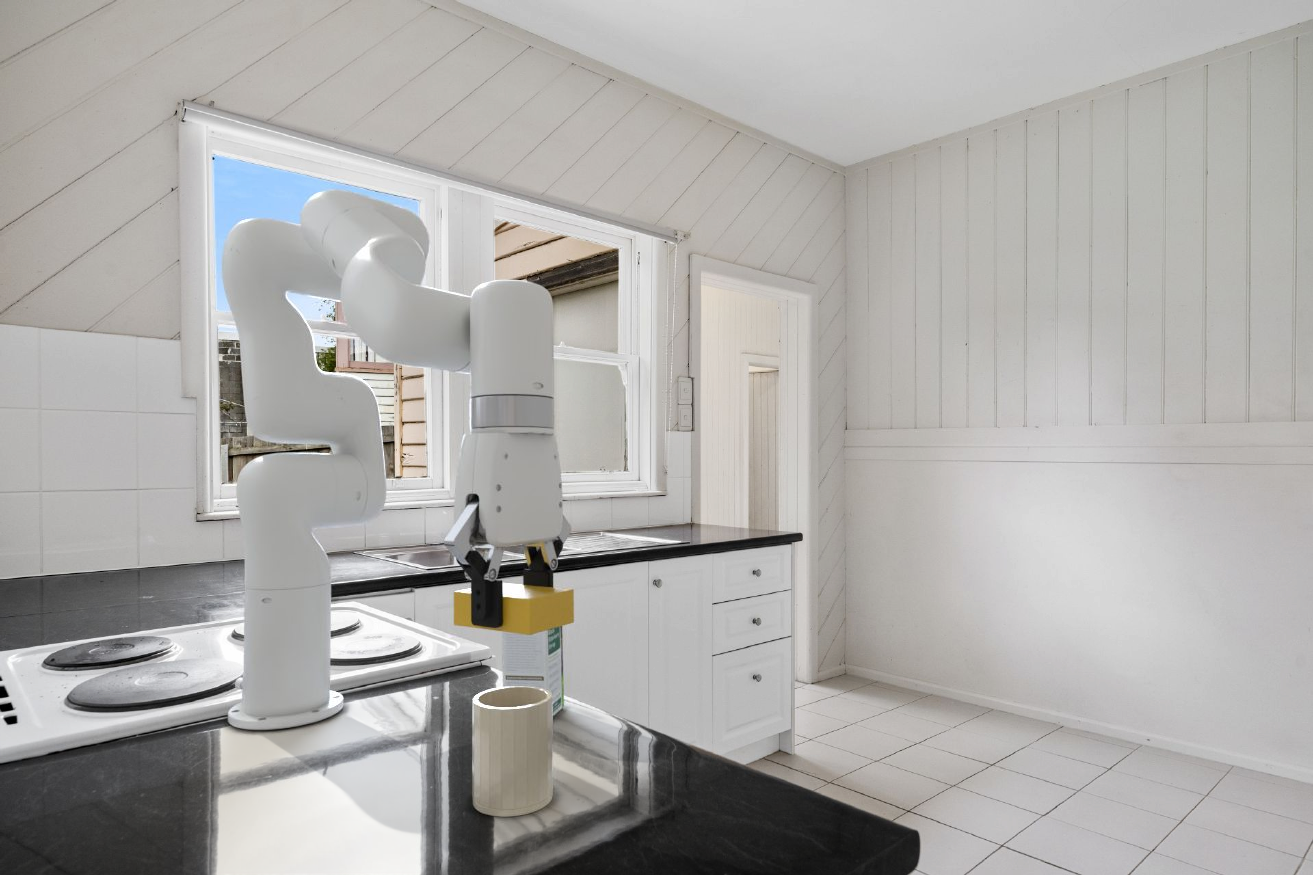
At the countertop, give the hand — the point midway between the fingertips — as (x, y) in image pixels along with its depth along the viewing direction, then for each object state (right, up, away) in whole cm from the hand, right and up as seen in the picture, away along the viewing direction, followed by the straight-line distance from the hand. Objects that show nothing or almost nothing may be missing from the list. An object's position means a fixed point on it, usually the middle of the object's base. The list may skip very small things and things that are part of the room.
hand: (513, 617), depth 68 cm
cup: (0, -16, -1) cm, 16 cm away
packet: (0, -1, 0) cm, 1 cm away
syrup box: (-2, -17, +23) cm, 29 cm away
